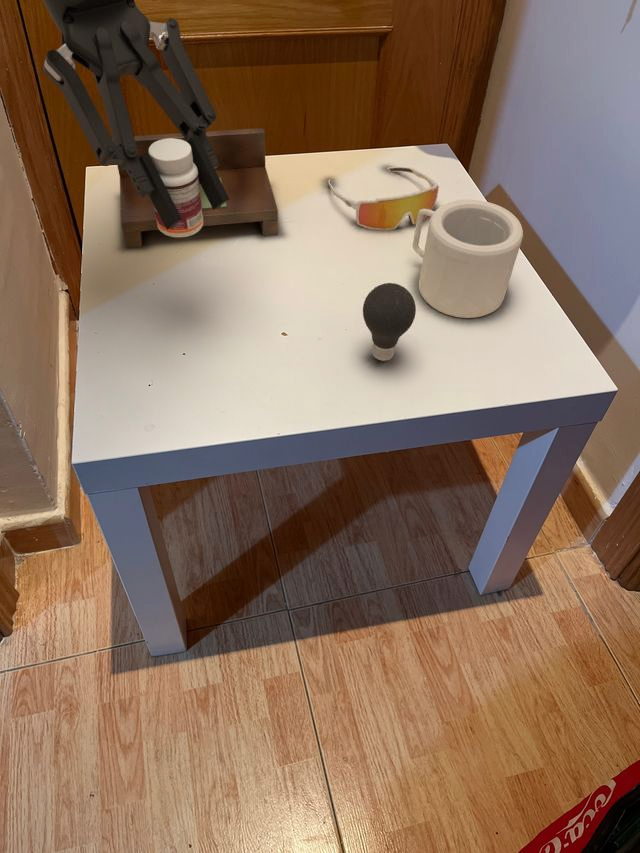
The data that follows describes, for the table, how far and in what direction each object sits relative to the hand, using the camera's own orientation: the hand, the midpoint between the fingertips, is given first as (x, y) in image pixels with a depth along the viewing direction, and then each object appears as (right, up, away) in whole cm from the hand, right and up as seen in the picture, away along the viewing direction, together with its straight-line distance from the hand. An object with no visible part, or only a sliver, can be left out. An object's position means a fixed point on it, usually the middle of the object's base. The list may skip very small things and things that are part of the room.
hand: (198, 213), depth 67 cm
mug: (+29, -3, +20) cm, 35 cm away
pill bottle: (-3, 0, +4) cm, 5 cm away
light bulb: (+19, -13, +12) cm, 26 cm away
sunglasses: (+21, +12, +32) cm, 40 cm away
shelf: (-5, +8, +28) cm, 30 cm away
